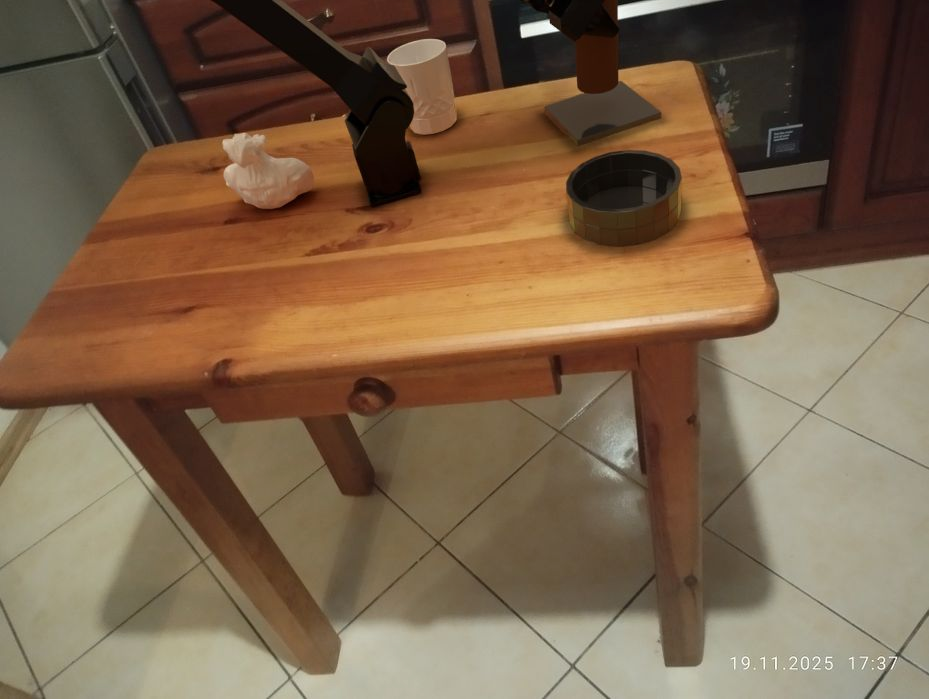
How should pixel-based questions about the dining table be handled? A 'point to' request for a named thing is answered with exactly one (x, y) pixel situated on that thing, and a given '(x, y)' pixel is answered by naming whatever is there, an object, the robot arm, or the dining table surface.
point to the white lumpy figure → (264, 173)
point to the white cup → (427, 84)
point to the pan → (624, 197)
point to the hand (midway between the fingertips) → (605, 25)
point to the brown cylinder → (598, 58)
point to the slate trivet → (600, 113)
